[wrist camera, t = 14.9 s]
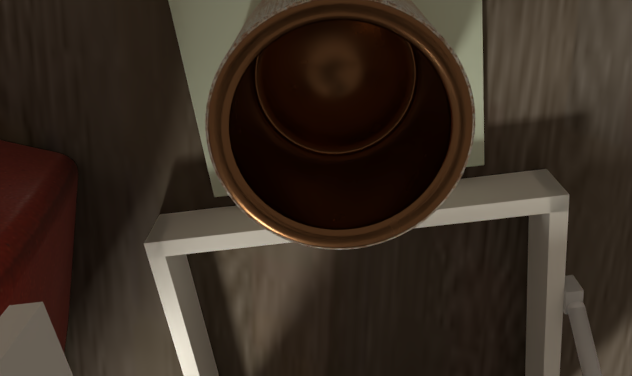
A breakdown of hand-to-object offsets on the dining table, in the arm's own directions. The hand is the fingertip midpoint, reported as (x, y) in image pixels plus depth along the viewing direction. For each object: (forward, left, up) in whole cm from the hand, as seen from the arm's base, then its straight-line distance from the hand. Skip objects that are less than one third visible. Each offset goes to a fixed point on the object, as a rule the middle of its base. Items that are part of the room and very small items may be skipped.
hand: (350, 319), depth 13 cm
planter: (0, 0, -21) cm, 21 cm away
